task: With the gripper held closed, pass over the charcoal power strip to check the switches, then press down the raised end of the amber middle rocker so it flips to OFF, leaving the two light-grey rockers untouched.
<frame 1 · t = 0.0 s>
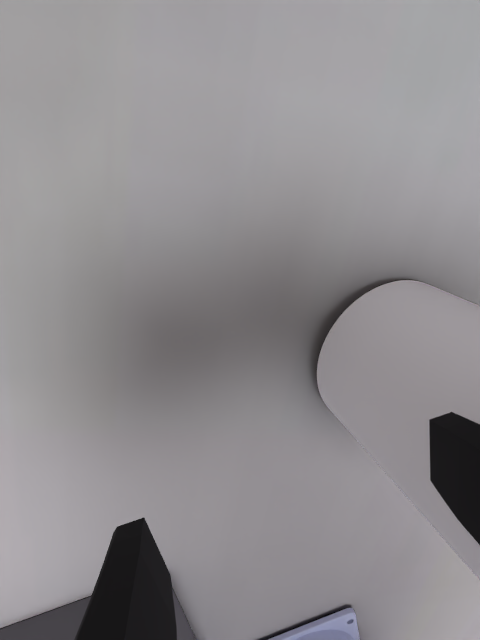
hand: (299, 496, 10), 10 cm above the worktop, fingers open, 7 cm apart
cup: (384, 353, 21), on the worktop, touching gripper
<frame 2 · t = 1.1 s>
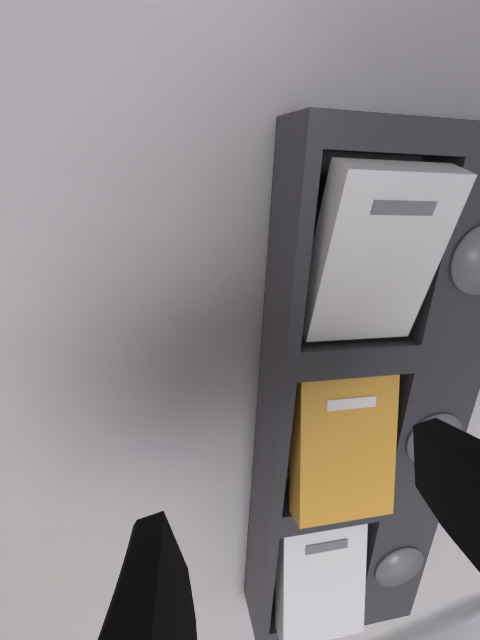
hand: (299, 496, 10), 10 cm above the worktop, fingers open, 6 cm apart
rocker mid: (343, 444, 19), point 3 cm above the worktop, hinge at 14.0°
rocker 1: (320, 575, 22), point 3 cm above the worktop, hinge at 14.0°
power strip: (343, 403, 22), on the worktop
rocker 2: (375, 258, 16), point 3 cm above the worktop, hinge at -14.0°
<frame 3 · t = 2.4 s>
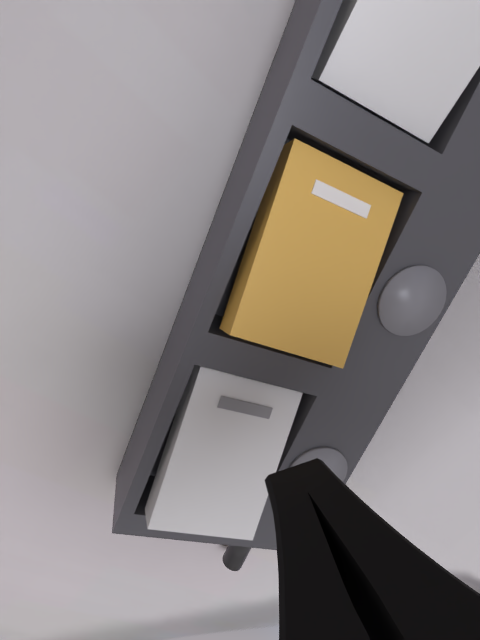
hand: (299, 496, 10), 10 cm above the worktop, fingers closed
rocker mid: (311, 260, 15), point 3 cm above the worktop, hinge at 14.0°
rocker 1: (223, 451, 18), point 3 cm above the worktop, hinge at 14.0°
power strip: (314, 255, 19), on the worktop
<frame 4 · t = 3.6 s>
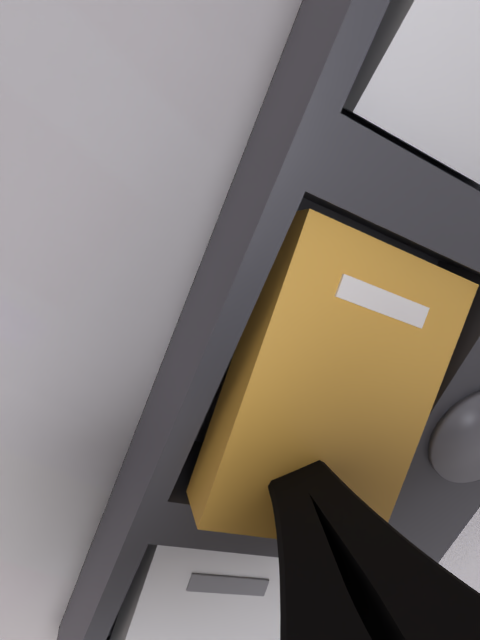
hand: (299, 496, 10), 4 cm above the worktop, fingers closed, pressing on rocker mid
rocker mid: (332, 389, 10), point 3 cm above the worktop, hinge at 13.6°, touching gripper
rocker 1: (198, 635, 12), point 3 cm above the worktop, hinge at 14.0°
power strip: (330, 347, 13), on the worktop
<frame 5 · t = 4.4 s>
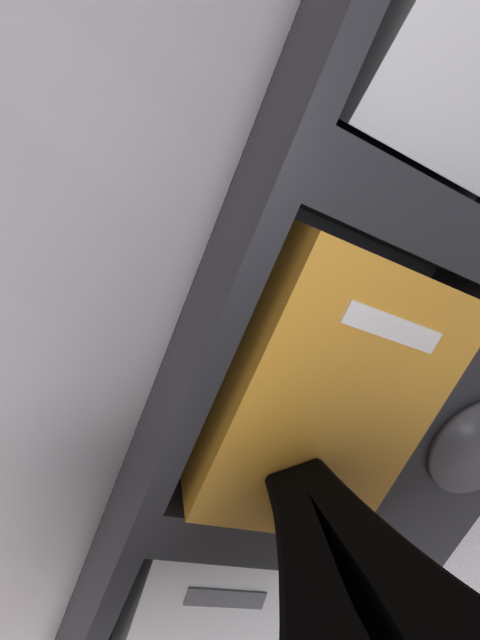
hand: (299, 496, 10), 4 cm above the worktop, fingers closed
rocker mid: (329, 401, 10), point 3 cm above the worktop, hinge at -0.1°
power strip: (328, 356, 13), on the worktop
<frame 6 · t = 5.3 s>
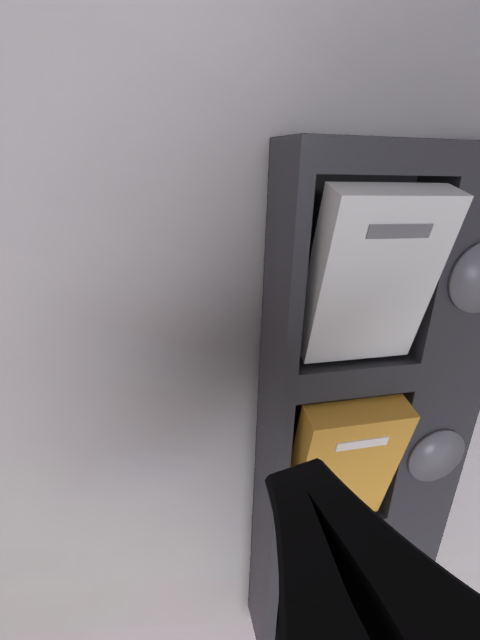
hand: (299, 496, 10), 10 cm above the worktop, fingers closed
rocker mid: (343, 464, 19), point 3 cm above the worktop, hinge at -12.0°
power strip: (344, 419, 22), on the worktop
rocker 2: (372, 279, 15), point 3 cm above the worktop, hinge at -14.0°
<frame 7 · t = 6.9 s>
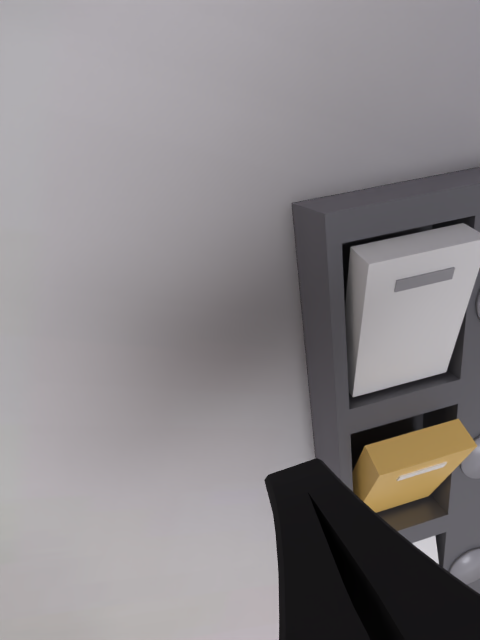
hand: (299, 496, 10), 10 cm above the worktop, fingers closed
rocker mid: (400, 474, 21), point 3 cm above the worktop, hinge at -25.4°
rocker 1: (398, 584, 24), point 3 cm above the worktop, hinge at 14.0°
power strip: (393, 427, 24), on the worktop
rocker 2: (404, 317, 17), point 3 cm above the worktop, hinge at -14.0°
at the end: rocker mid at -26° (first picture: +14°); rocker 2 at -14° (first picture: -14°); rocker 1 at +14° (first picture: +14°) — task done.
